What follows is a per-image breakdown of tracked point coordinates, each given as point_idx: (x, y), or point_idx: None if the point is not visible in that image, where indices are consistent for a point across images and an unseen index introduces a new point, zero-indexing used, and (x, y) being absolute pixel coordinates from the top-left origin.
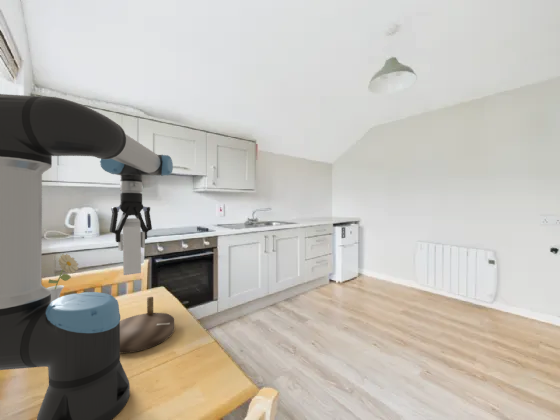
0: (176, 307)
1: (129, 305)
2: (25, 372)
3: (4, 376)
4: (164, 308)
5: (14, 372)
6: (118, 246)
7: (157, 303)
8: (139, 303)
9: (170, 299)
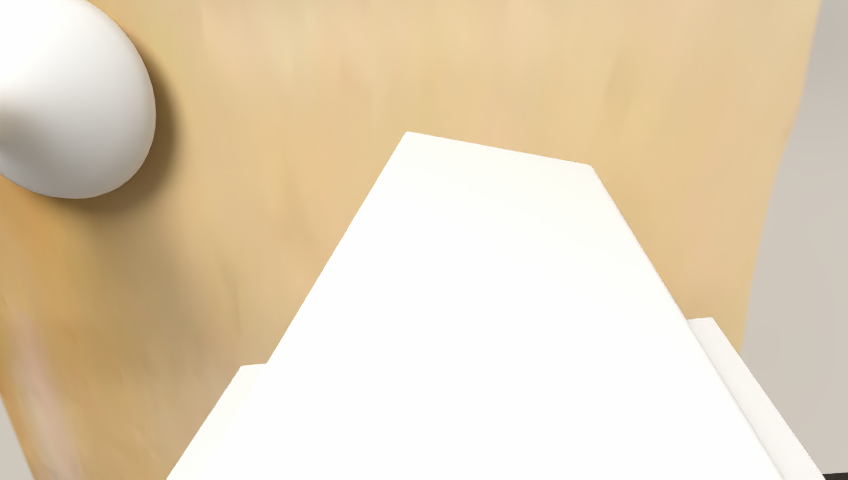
0: (722, 307)
1: (482, 30)
2: (76, 472)
3: (23, 453)
4: (655, 268)
5: (43, 449)
6: (214, 412)
7: (658, 140)
8: (553, 39)
9: (772, 124)
